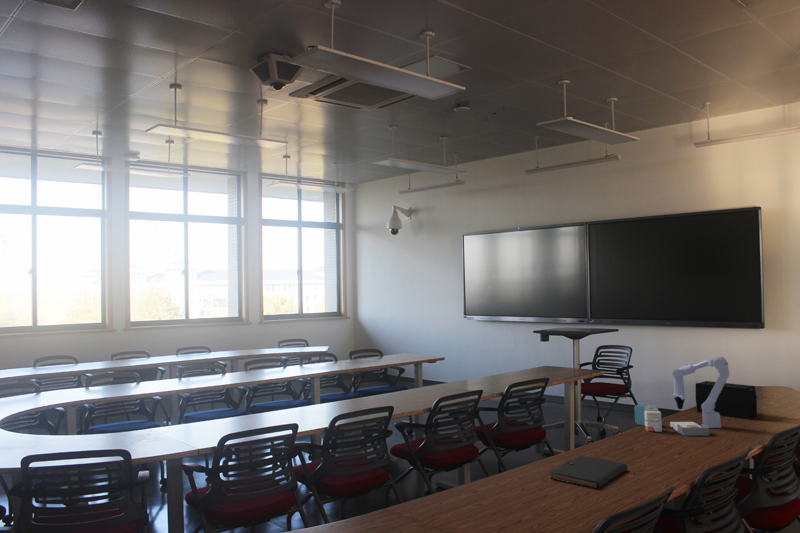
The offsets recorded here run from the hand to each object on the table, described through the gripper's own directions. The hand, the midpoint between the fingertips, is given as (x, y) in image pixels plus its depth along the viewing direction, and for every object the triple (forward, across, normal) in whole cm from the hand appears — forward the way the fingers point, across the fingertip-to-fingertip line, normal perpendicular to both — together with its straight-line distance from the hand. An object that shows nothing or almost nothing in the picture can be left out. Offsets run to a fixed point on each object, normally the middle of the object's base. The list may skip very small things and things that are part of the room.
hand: (680, 408), depth 358 cm
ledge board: (+9, +13, -2) cm, 16 cm away
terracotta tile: (+7, +25, -2) cm, 26 cm away
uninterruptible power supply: (+10, -27, +39) cm, 48 cm away
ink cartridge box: (+10, +18, -22) cm, 30 cm away
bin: (+9, +25, -2) cm, 27 cm away
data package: (+10, +2, -22) cm, 24 cm away
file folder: (+10, +103, -76) cm, 128 cm away
